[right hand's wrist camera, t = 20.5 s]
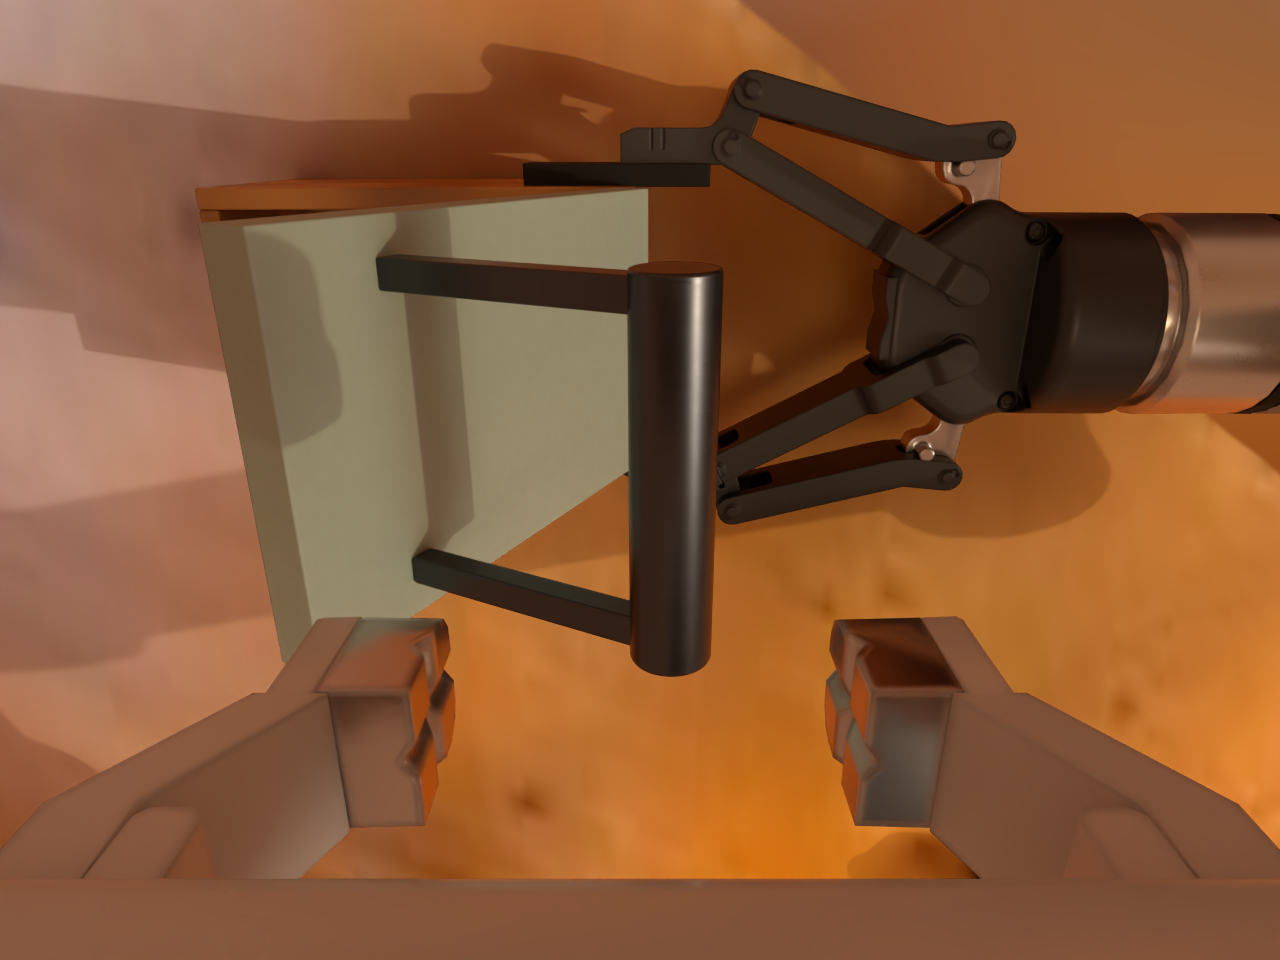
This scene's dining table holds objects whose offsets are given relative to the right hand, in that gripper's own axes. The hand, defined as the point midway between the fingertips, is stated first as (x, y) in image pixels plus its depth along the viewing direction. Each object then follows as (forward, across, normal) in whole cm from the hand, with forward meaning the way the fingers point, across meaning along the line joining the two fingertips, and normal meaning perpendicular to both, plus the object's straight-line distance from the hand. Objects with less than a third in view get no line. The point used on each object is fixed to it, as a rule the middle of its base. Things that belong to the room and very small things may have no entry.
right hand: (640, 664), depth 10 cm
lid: (+14, -4, 0) cm, 14 cm away
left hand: (+23, -4, 0) cm, 24 cm away
